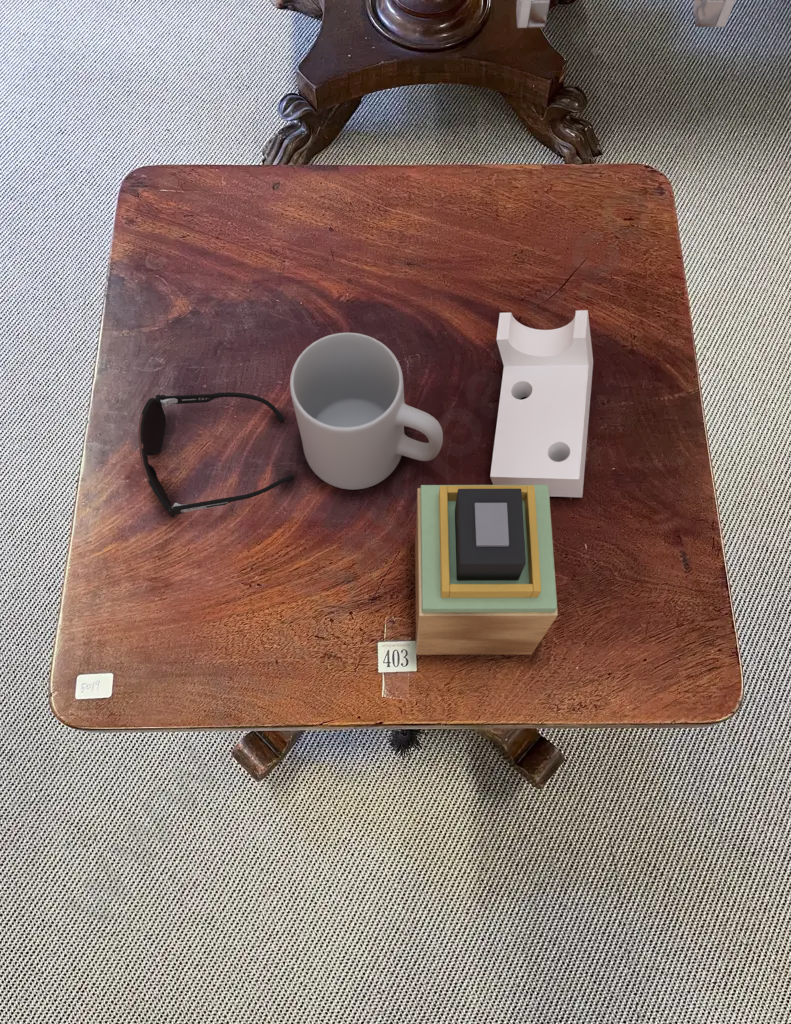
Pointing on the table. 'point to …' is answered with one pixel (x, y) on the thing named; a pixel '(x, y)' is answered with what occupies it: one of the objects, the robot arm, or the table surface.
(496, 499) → the black block
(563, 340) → the bracket
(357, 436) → the mug
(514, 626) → the stand
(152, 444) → the sunglasses
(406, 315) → the table surface
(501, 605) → the base pad
